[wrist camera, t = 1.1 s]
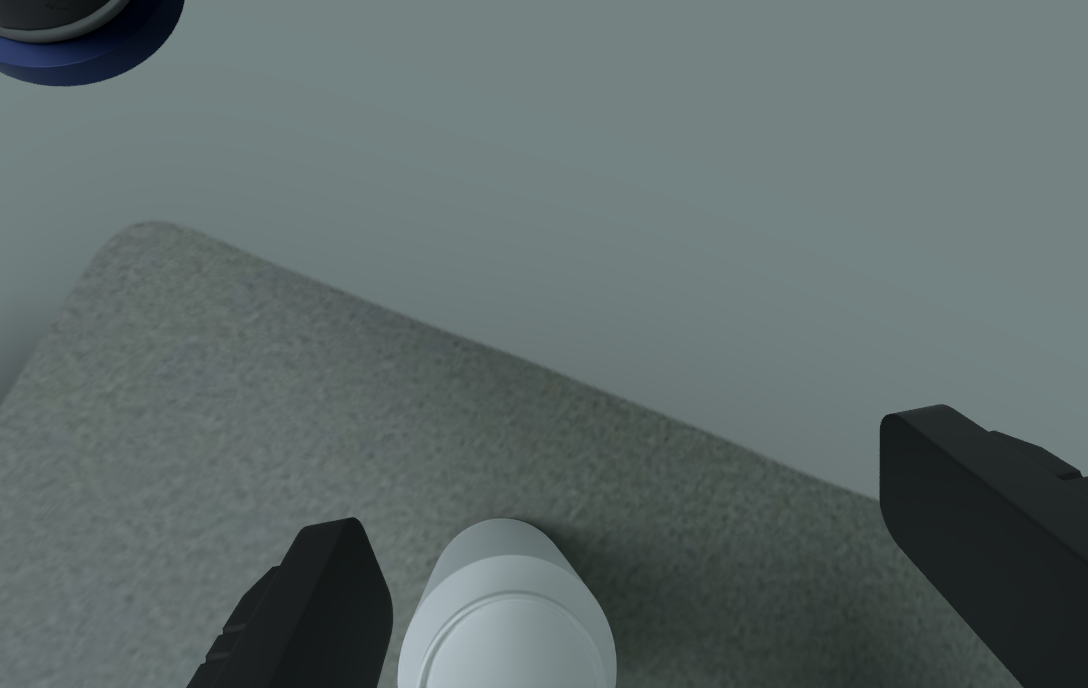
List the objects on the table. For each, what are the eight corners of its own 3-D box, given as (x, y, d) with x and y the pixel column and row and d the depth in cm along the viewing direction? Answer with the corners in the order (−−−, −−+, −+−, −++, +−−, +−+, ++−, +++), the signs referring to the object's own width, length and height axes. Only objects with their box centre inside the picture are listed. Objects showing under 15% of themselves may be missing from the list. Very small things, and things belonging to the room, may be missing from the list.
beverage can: (487, 488, 27) (490, 518, 15) (592, 568, 26) (678, 663, 15) (403, 602, 25) (332, 734, 14) (512, 687, 25) (537, 896, 13)
